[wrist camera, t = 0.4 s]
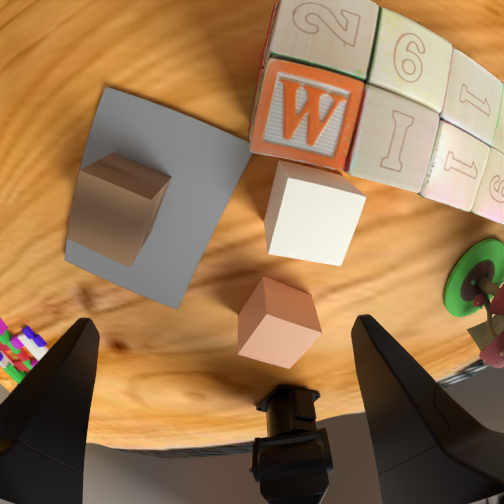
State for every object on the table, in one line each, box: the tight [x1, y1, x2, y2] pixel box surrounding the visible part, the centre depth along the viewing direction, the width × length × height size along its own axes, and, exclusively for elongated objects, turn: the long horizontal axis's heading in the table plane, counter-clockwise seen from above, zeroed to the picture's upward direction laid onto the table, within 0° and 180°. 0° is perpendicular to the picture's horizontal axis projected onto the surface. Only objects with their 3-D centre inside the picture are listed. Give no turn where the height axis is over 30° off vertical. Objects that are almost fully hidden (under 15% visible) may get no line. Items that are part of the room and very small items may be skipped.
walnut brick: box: [67, 153, 172, 267], centre depth 18 cm, size 5×5×5 cm
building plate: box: [65, 87, 253, 310], centre depth 21 cm, size 16×12×1 cm
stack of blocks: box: [248, 0, 504, 225], centre depth 13 cm, size 21×6×12 cm, turn 79°
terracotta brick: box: [237, 276, 322, 369], centre depth 25 cm, size 5×5×5 cm
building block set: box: [0, 319, 48, 385], centre depth 30 cm, size 25×20×4 cm
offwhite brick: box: [264, 160, 366, 266], centre depth 20 cm, size 5×5×5 cm
